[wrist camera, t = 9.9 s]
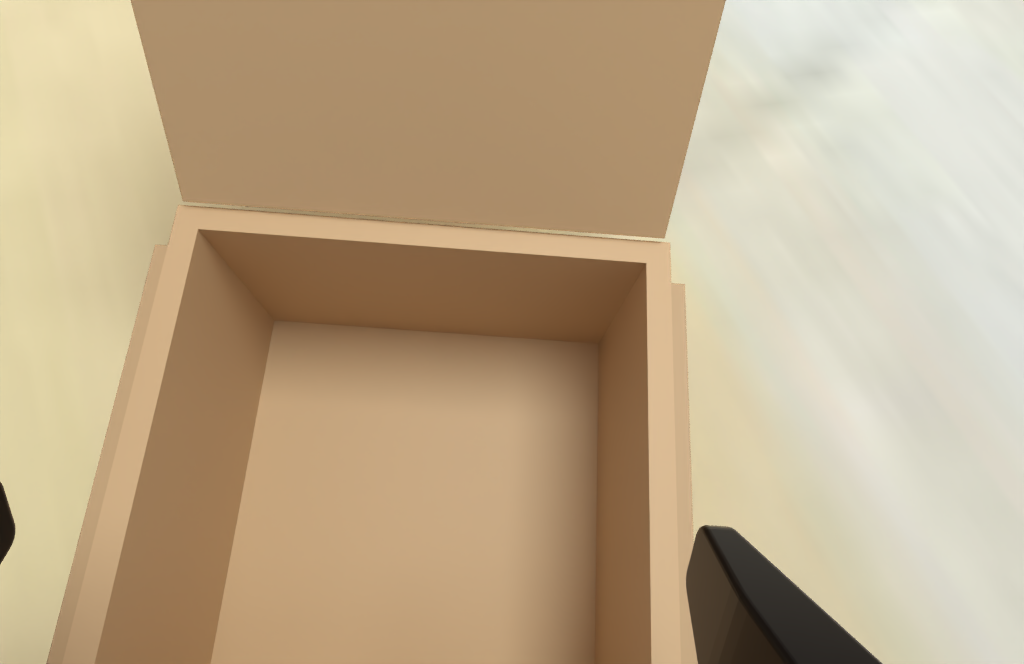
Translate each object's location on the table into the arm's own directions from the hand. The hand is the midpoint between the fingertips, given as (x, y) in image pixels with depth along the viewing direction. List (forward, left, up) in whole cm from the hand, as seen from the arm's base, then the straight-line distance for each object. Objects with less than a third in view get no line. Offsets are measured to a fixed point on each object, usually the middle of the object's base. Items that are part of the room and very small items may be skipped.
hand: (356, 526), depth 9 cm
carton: (+1, 0, -12) cm, 12 cm away
